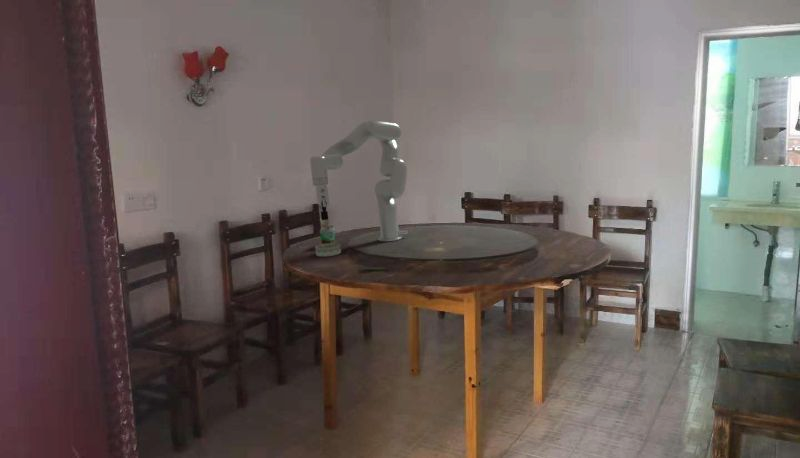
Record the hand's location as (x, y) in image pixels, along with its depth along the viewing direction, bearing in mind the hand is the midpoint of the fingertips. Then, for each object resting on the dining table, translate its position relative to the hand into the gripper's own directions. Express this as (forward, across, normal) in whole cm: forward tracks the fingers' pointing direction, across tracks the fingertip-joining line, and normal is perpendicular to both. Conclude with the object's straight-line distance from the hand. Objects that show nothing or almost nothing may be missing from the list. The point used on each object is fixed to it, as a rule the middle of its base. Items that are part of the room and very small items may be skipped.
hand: (324, 218), depth 305 cm
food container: (+18, +20, -4) cm, 27 cm away
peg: (+5, 0, 0) cm, 5 cm away
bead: (+17, 0, 0) cm, 17 cm away
